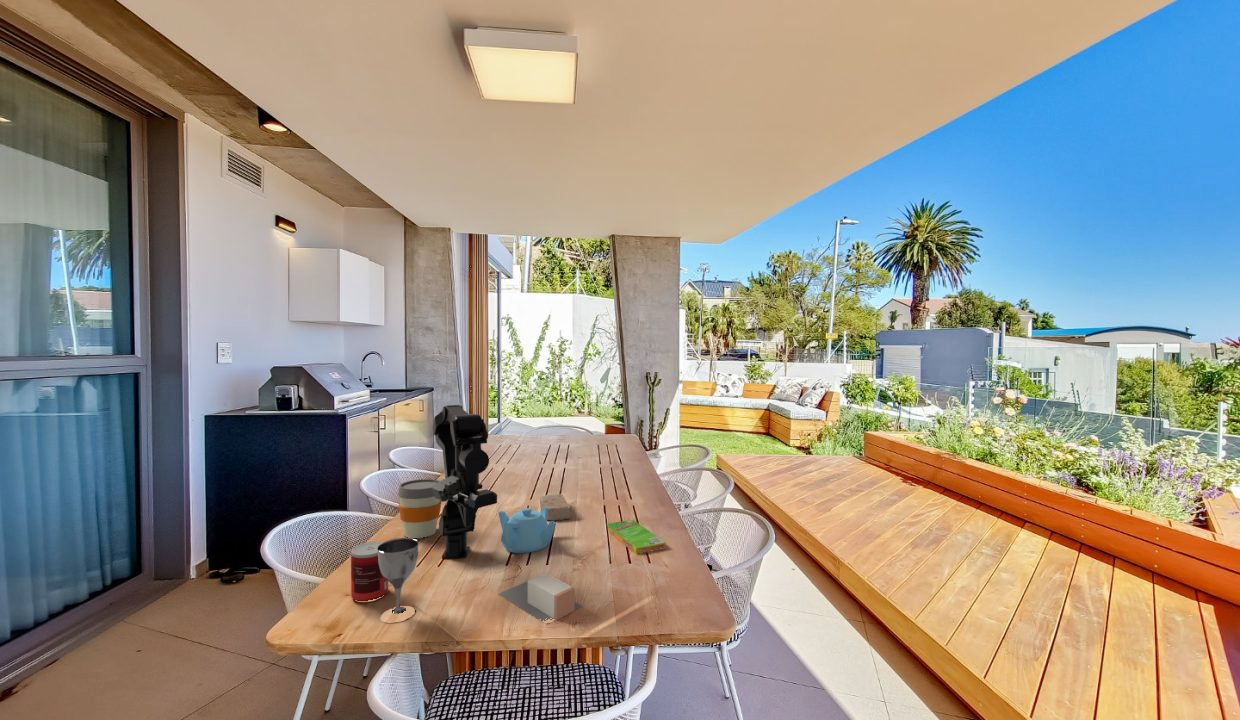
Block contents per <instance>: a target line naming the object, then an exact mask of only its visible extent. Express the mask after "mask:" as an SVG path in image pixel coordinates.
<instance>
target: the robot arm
mask: <svg viewBox="0 0 1240 720" xmlns="http://www.w3.org/2000/svg"><path fill="white" fill-rule="evenodd" d="M432 435H433V436H434V437H435V442H436V445H438V447H439V448H440V449H441V450H442V458H443V465H444V466H443V468H444V469H443V470H444V476H445V478H444V479H442V480H439V481H440V482H438V483H436V484H435V485H433V486H432V490H433V493H434V495H435V498H436V499H439V500H441V503H442V502H445V504H444V505H443V507H442V513H441V514H440V516H439V517H440V518H439V522H438V531H439V534H440V535H441V538H443V537H445V549H444V552H443V553H442V555H441V559H460V558H461V559H462V558H463V559H465V558H467V557H468V554H469V552H470V550H471V546H468V533H470V532H471V533H472V532H474V530H475V525H476V519H477V512H478V510H479V509H481V508H484V507H487V506H492V505H496V504H497V503H498V494H497V493H496V492H494V491H493V490H489V489H483V484H482V483H480V474H481V473H483V472H485V471H486V470H487V469H488V467H489V464H490V458H489V455H488V453H487V452H486V451H485V450H483V449H482V444H483V445H484V444H488V438H489V435H488V429H487V426H486V423H485V420H484V419H483V418H482V417H481V415H480V414H478V413H477V414H476V413H468V412H467V411H466V410H464V408H463V406H462V405H460V404H454V405H453V404H451V405H449V404H448V405H447V404H446V405H445V406H443V407H442V410H441V411H440V412H439V413H438V414H436V415H435V416H434V417H433V423H432Z"/></svg>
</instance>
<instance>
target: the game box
mask: <svg viewBox="0 0 1240 720" xmlns="http://www.w3.org/2000/svg"><path fill="white" fill-rule="evenodd" d="M606 526H607V532H608V533H609V534H610V535H611V536H612V537H614V538H615V539H616V540H617V541H618V542H620V543H622V544H623V545H624V546H625V547H626V548H627V547H628V548H627V549H629V550H630V551H631V550H632V551H633V552H632V551H631V552H632V553H634V554H635V553H636V554H635V555H639V554H638V553H641V554H643V553H642V552H646V553H648V552H647V551H651V550H656V549H660V548H664V547H665V548H666V542H665V541H664V540H663V539H662V538H660V537H659V536H657V535H655V534H654V533H652V532H651V531H650V530H649V529H647V528H645V527H644V526H642V525H641V524H640V523H638V522H637V521H635V520H634V519H628V520H624V521H623V520H622V521H617V522H610V523H609V522H608V523H606ZM656 551H657V550H656ZM651 552H652V551H651Z"/></svg>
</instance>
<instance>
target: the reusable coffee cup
mask: <svg viewBox="0 0 1240 720" xmlns="http://www.w3.org/2000/svg"><path fill="white" fill-rule="evenodd" d="M440 481H441V480H437V479H435V478H434V479H431V478H426V479H425V478H424V479H412V480H407V481H404V482H402V483H399V486H398V492H397V496H398V497H399V504H398V508H399V517H400V518H399V519H400V520H401V521H402V528H403V536H404V535H405V536H406V537H405V536H404V537H405V538H407V537H410V538H417V539H424V538H423V537H425V538H428V537H431V536H433V535H434V534H436V531H437V525H438V524H437V523H438V519H439V517H440V516H441V514H440V512H441V507H442V506H441V505H442V501H441V500H439V499H436V498H435V495H434V493H433V490H432V486H433V485H435V484H436V483H438V482H440ZM427 536H428V537H427Z"/></svg>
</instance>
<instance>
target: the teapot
mask: <svg viewBox="0 0 1240 720" xmlns="http://www.w3.org/2000/svg"><path fill="white" fill-rule="evenodd" d="M547 516H548V507H544V508H542V509H541V510H540V512H539V511H537V510H532V508H531V507H524V508H522V509H521V510H520V511H517V512H514V513H513V514H512V515H511V516H510V517H509V516H508V515H507V513H506V511H503V510H500V511H498V518H499V522H500V525H501V528H502V529H501V530H502V533H501V534H502V535H501V538H500V541H501V543H502V546H503V547H504V548H505V549H506V550H507V551H508V552H510V553H513V554H519V555H520V554H522V553H523V554H524V553H525V554H526V553H534V552H538V551H541V550H543V549H545V548H546V547H547V546H548V545H549V544H550V542H551V541H552V537H553V535H554V532H555V529H556V526H557V522H556V521H554V520H550V521H549V522H548V520H547Z"/></svg>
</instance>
